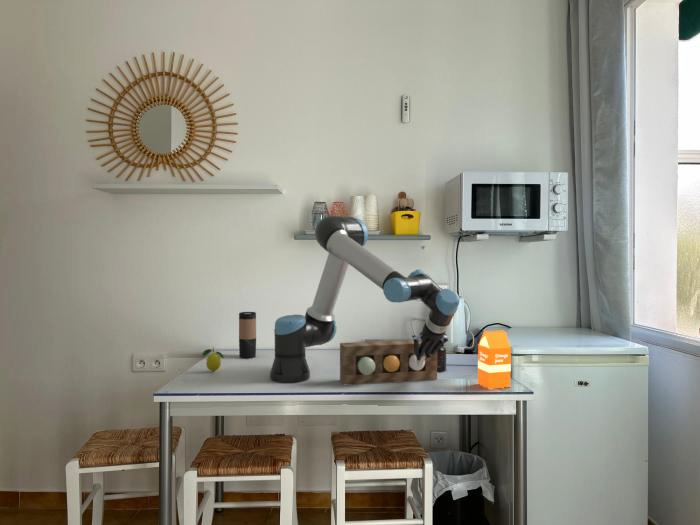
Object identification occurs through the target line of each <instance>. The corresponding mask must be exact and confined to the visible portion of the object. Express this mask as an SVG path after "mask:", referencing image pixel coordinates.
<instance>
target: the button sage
mask: <svg viewBox="0 0 700 525" xmlns="http://www.w3.org/2000/svg"><path fill="white" fill-rule="evenodd" d="M357 367H358V369H359V371H360V372H361V373H362V374H364V375H370V374H372V373H373V372H374V370H375V363H374V361H373V360H372V359H371V358H369V357H362V358H361V359H360V360H359V361H358V363H357Z"/></svg>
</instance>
